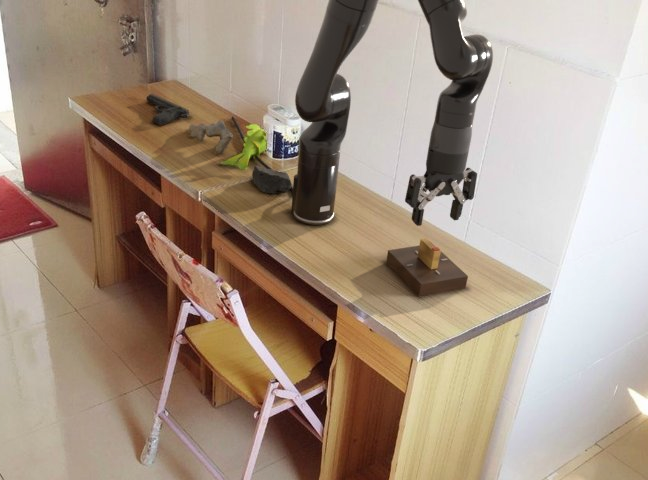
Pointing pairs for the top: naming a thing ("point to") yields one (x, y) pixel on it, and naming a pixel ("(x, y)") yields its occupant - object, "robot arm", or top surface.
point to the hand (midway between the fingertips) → (435, 221)
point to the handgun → (166, 110)
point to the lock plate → (426, 272)
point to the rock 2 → (271, 180)
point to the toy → (250, 147)
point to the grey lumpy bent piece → (213, 134)
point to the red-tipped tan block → (429, 253)
